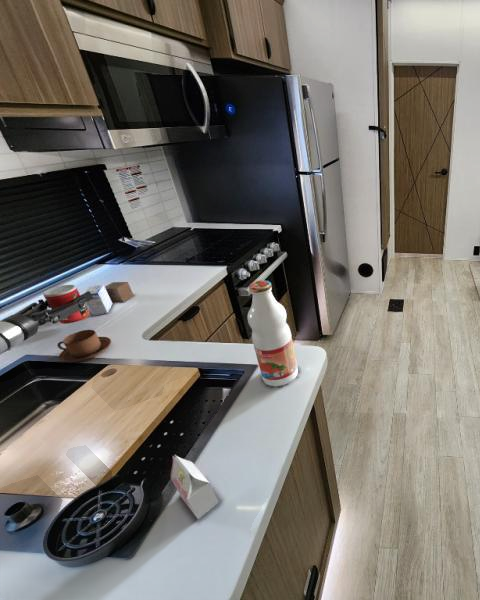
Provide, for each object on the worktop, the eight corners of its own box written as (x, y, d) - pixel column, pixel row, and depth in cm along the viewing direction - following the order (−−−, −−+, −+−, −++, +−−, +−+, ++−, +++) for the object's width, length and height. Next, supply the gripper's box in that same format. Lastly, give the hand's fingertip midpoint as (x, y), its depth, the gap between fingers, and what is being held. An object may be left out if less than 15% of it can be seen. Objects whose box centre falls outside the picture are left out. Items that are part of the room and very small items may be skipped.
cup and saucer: (59, 371, 93) (48, 353, 90) (65, 350, 102) (55, 334, 99) (112, 355, 99) (103, 338, 96) (114, 337, 108) (106, 321, 105)
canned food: (91, 318, 113) (75, 289, 108) (59, 327, 108) (42, 297, 103) (89, 310, 118) (74, 282, 113) (59, 318, 113) (42, 289, 108)
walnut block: (107, 302, 129) (101, 288, 127) (118, 295, 135) (112, 282, 132) (123, 302, 130) (116, 288, 127) (133, 295, 135) (127, 281, 132)
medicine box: (99, 306, 126) (88, 286, 122) (113, 304, 128) (103, 284, 124) (93, 316, 120) (82, 295, 116) (108, 313, 122) (98, 292, 118)
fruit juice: (305, 373, 92) (288, 282, 79) (276, 392, 85) (252, 297, 72) (285, 360, 97) (266, 272, 84) (255, 377, 90) (230, 285, 77)
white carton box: (201, 481, 64) (184, 447, 59) (218, 502, 61) (202, 468, 56) (181, 496, 62) (162, 462, 57) (198, 519, 58) (179, 484, 53)
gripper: (-18, 343, 96) (53, 305, 116) (54, 341, 96) (112, 303, 116) (-35, 321, 92) (41, 285, 112) (41, 319, 92) (103, 284, 113)
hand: (77, 295), depth 114 cm, fingers closed on canned food, 8 cm apart
